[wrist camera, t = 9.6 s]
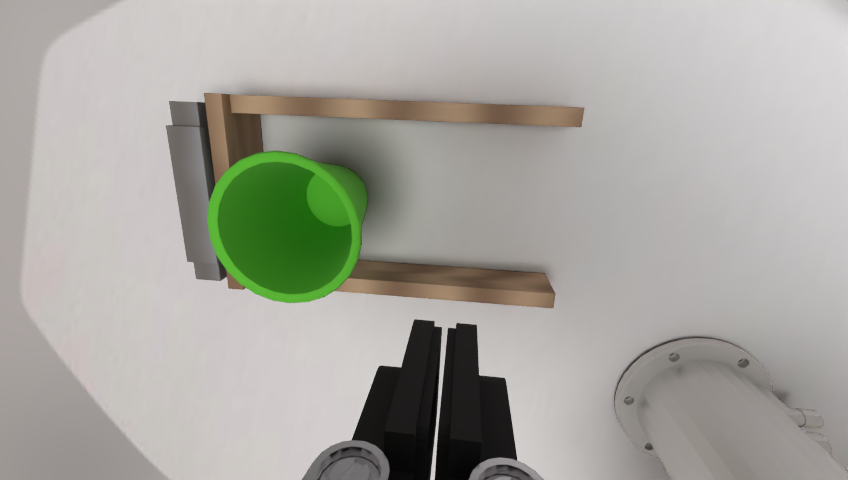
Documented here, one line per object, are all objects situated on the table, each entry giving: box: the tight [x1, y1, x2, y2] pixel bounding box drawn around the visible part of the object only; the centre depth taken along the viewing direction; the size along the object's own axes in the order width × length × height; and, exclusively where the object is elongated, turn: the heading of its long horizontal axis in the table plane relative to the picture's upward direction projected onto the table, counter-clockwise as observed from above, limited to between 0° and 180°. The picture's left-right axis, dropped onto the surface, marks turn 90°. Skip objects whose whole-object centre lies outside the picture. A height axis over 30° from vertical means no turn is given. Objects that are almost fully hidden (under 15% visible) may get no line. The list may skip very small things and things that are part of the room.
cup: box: [207, 151, 368, 303], centre depth 27 cm, size 9×9×11 cm
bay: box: [166, 93, 584, 308], centre depth 30 cm, size 28×14×5 cm, turn 88°
